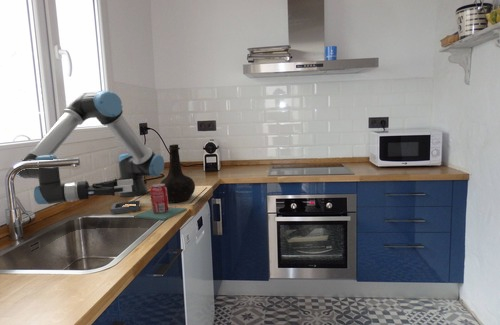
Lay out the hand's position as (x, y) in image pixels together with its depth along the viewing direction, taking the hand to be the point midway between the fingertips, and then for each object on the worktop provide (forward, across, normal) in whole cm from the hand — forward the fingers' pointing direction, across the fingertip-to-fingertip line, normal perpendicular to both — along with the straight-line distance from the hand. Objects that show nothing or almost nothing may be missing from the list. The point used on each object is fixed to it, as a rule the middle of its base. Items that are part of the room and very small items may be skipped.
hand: (132, 184), depth 154 cm
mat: (+10, +1, -14) cm, 17 cm away
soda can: (+10, 0, -13) cm, 17 cm away
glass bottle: (+20, -22, -15) cm, 33 cm away
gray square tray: (-5, -15, -14) cm, 21 cm away
